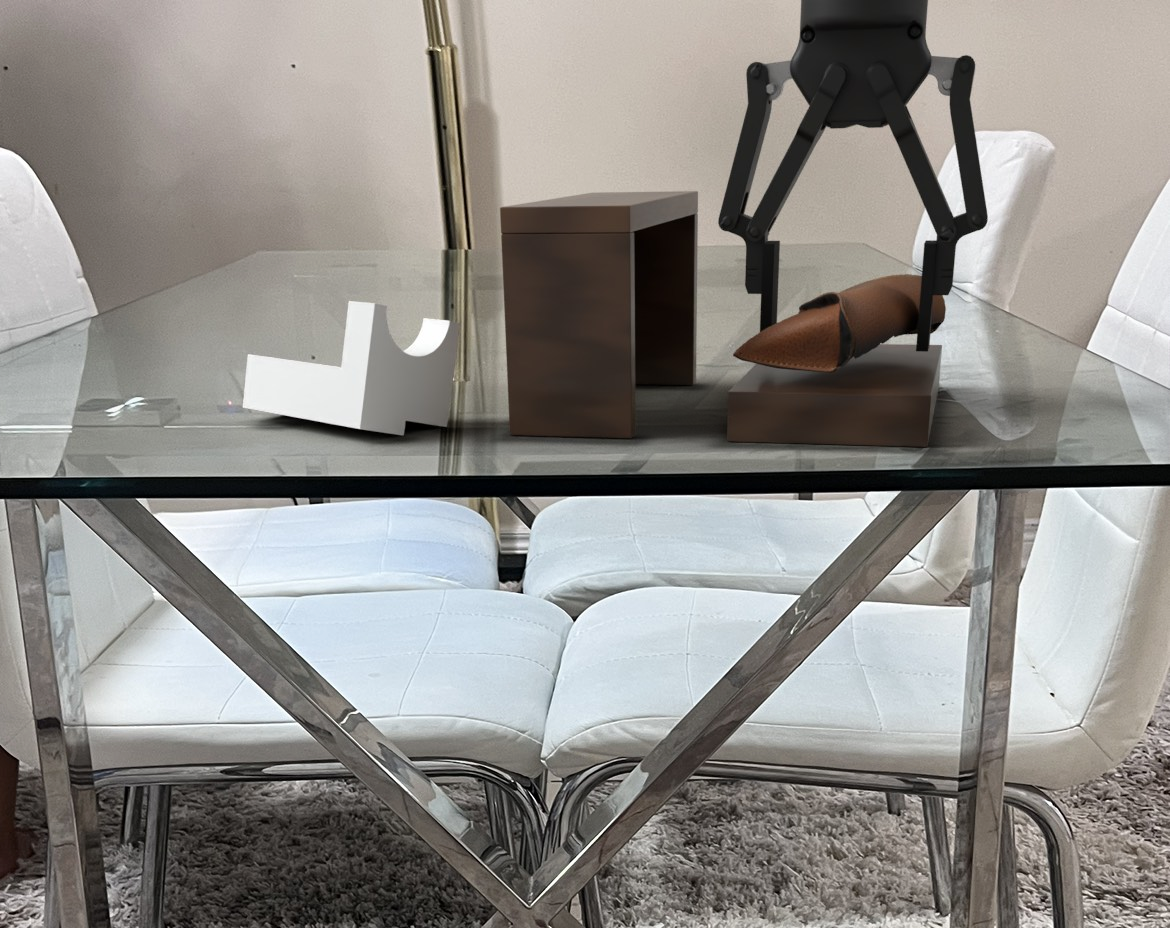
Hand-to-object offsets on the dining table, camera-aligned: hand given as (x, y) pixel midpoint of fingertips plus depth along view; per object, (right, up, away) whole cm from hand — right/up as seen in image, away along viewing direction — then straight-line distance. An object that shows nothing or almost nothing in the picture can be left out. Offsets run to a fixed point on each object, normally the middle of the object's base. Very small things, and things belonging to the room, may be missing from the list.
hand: (844, 347), depth 92 cm
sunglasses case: (0, 0, 0) cm, 0 cm away
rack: (-7, -3, +3) cm, 8 cm away
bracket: (-33, -5, +2) cm, 33 cm away
